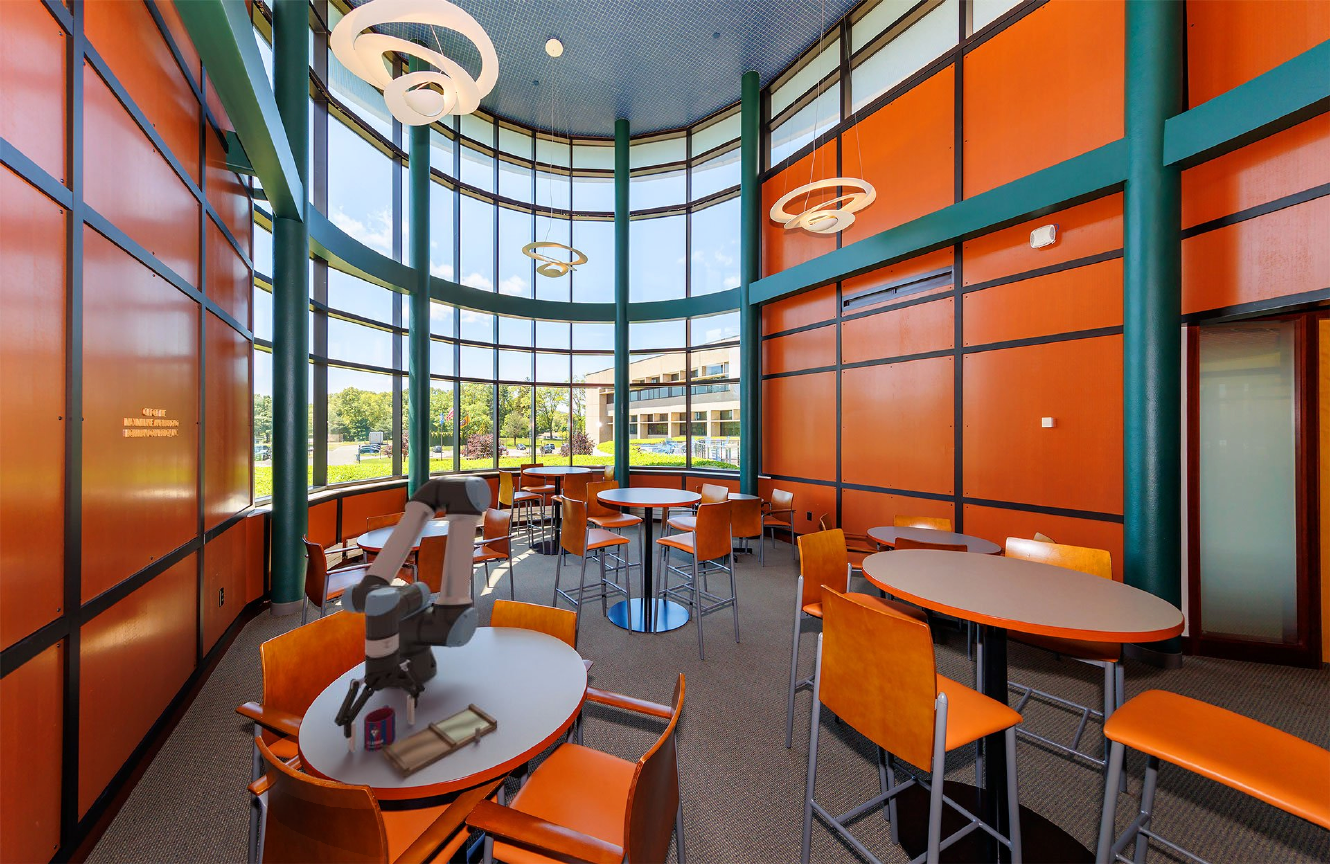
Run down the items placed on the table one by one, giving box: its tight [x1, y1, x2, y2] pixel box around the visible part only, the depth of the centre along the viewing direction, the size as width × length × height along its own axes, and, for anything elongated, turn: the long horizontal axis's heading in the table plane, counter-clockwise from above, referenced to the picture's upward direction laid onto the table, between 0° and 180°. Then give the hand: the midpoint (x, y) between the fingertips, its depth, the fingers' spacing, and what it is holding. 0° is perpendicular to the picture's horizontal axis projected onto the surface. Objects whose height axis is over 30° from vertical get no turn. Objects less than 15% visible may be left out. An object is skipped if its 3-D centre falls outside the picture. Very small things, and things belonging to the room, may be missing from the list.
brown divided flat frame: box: [381, 703, 498, 778], centre depth 117 cm, size 15×23×3 cm, turn 141°
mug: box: [363, 704, 396, 752], centre depth 119 cm, size 7×10×7 cm
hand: (382, 734), depth 119 cm, fingers open, 13 cm apart
